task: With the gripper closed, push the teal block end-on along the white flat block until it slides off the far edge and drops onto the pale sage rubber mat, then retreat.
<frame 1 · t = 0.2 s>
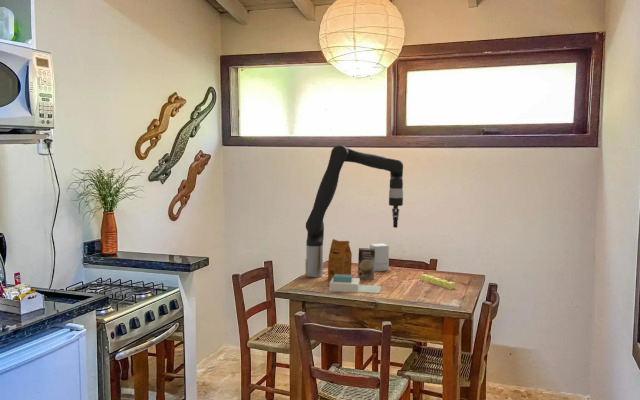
hand: (395, 226, 284), 29 cm above the table, fingers open, 8 cm apart
yellow piece: (438, 284, 277), on the table
white flat block: (344, 288, 265), on the table
coffee package: (339, 280, 283), on the table
coffee box: (366, 278, 289), on the table
teal block: (343, 280, 265), point 4 cm above the table, touching white flat block
supplement box: (378, 269, 311), on the table
mat: (369, 289, 263), on the table
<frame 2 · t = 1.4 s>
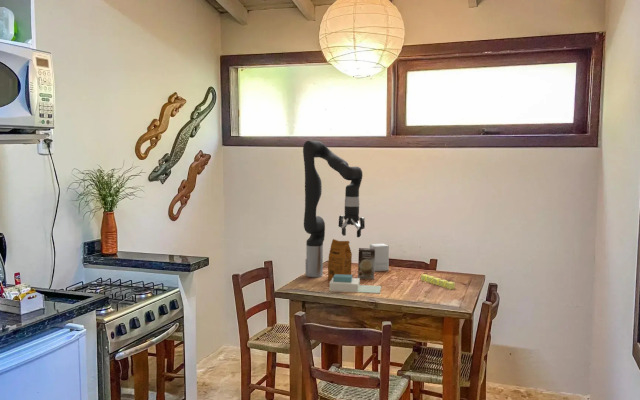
hand: (351, 236, 271), 25 cm above the table, fingers open, 8 cm apart
nothing on the table moved.
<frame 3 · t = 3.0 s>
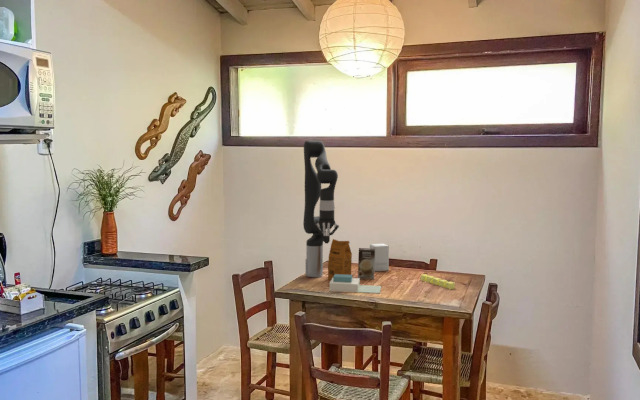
hand: (326, 243, 264), 23 cm above the table, fingers closed
nothing on the table moved.
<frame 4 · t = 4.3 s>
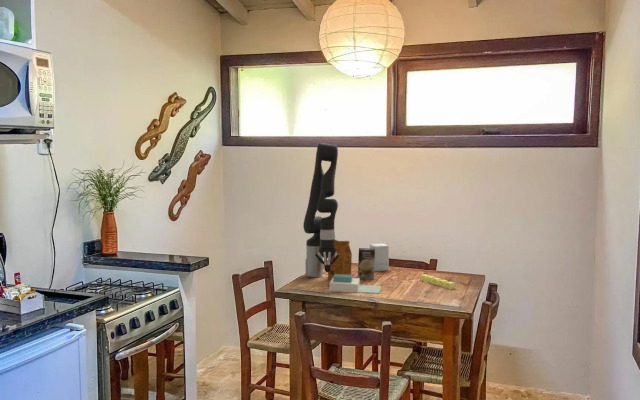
hand: (327, 272, 265), 8 cm above the table, fingers closed
nothing on the table moved.
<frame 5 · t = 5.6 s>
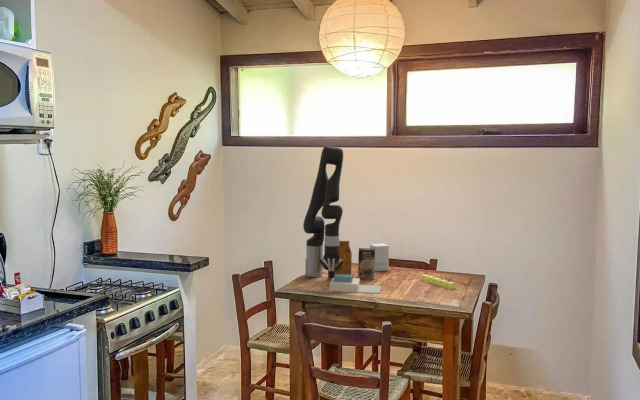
hand: (331, 278, 265), 5 cm above the table, fingers closed
teal block: (343, 280, 265), point 4 cm above the table, touching gripper
everything else where it was.
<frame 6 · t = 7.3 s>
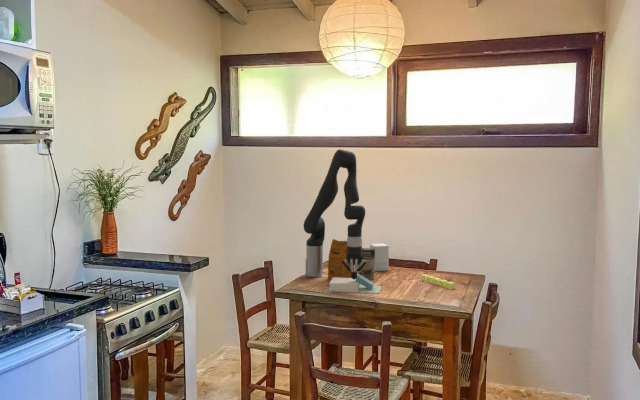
hand: (354, 279, 264), 5 cm above the table, fingers closed
teal block: (363, 283, 264), point 3 cm above the table, tilted 30°, touching white flat block, mat
everything else where it was.
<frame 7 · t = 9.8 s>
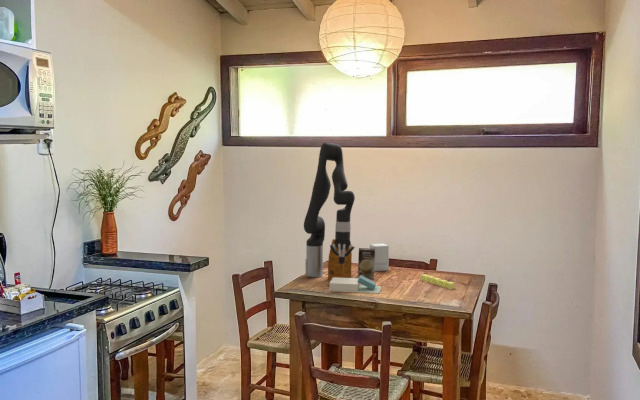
hand: (341, 263, 265), 12 cm above the table, fingers closed
teal block: (365, 284, 264), point 2 cm above the table, tilted 25°, touching white flat block, mat
everything else where it was.
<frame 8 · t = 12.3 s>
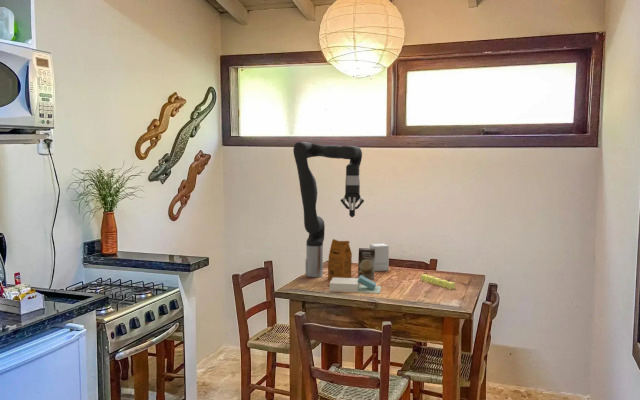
hand: (352, 216, 276), 35 cm above the table, fingers closed
nothing on the table moved.
at the end: teal block point 2.3 cm above the table; teal block inside the target area on the mat (2.1 cm from its centre), point 2.3 cm above the mat's base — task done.
